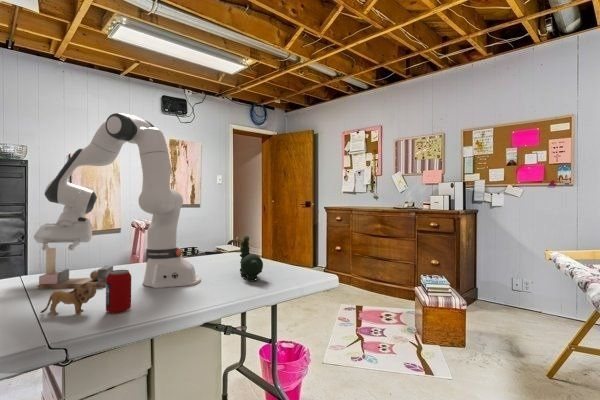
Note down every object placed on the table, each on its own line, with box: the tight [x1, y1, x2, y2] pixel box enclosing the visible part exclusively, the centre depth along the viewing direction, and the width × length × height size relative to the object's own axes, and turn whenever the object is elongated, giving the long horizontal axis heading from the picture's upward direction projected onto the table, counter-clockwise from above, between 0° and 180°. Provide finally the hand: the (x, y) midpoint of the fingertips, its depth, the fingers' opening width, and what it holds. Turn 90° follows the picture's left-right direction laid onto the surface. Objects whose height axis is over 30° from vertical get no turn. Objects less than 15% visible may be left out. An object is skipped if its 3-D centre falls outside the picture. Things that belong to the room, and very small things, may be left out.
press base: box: [36, 265, 114, 290], centre depth 132 cm, size 24×10×6 cm, turn 102°
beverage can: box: [105, 269, 132, 315], centre depth 101 cm, size 7×7×12 cm
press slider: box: [38, 247, 70, 285], centre depth 130 cm, size 7×8×13 cm
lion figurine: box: [40, 282, 97, 316], centre depth 99 cm, size 15×5×9 cm, turn 103°
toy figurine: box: [239, 235, 264, 281], centre depth 147 cm, size 9×19×25 cm
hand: (57, 249), depth 135 cm, fingers open, 8 cm apart
